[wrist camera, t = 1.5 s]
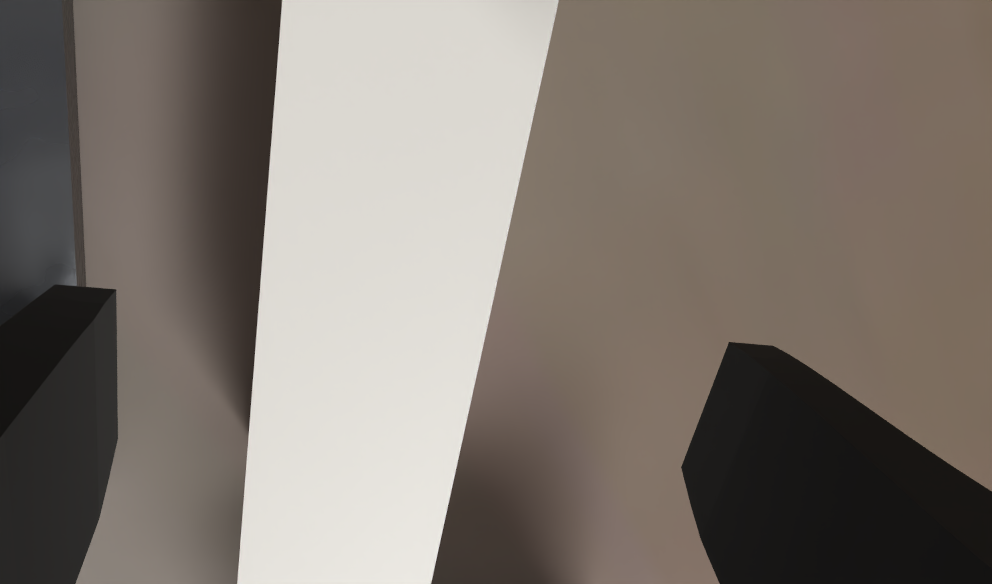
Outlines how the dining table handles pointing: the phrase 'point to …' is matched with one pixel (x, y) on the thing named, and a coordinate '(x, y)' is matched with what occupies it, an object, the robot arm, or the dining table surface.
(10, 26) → the cup brackets
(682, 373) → the dining table surface
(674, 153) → the dining table surface
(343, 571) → the rail
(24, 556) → the robot arm
